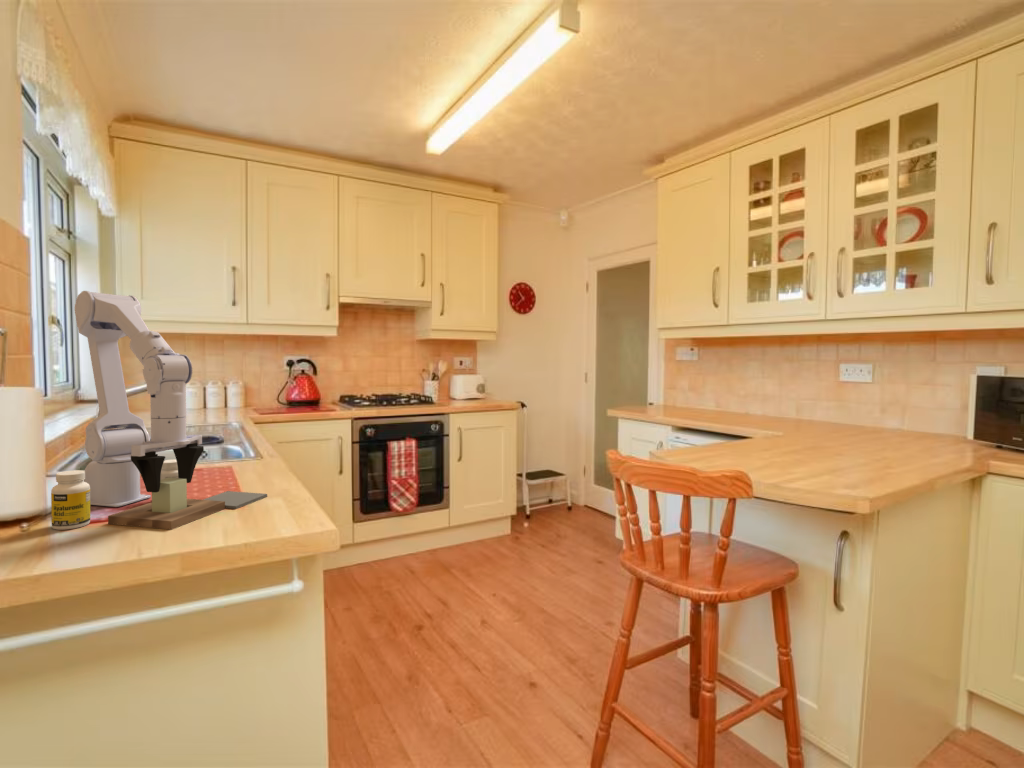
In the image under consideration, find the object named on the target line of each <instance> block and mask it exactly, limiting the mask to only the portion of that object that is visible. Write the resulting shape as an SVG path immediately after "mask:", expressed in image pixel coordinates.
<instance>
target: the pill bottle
mask: <svg viewBox="0 0 1024 768" xmlns="http://www.w3.org/2000/svg"><path fill="white" fill-rule="evenodd" d="M166 478H178V465H177V461H176V458H175V459H165V460H164V462H163V465H162V469H161V477H160V480H162V479H166Z"/></svg>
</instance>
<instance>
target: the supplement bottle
mask: <svg viewBox="0 0 1024 768" xmlns="http://www.w3.org/2000/svg"><path fill="white" fill-rule="evenodd" d="M84 479H85V470H78V469H77V470H76V469H74V470H67V471H66V470H65V471H60V472H57V473H56V474H55V481H56V482H57V484H55V485H54V486H53V487H52V488H51V490H50V491H51V492H50V495H51V496H50V499H51V500H50V503H51V507H50V508H51V519H50V520H51V528H52V529H53V530H56V531H57V530H59V531H65V530H73V529H79V528H83V527H85V526H88V525H89V524H90V523H91V505H90V485H89V484H88V483H86V482H84Z"/></svg>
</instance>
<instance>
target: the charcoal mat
mask: <svg viewBox="0 0 1024 768" xmlns="http://www.w3.org/2000/svg"><path fill="white" fill-rule="evenodd" d="M267 497H268V494H267V493H259V492H247V491H246V492H245V491H231V490H227V491H224V492H220V493H218V494H215V495H212V496H209V497H207V498H203V499H202V500H213V501H225V509H233V510H237V509H240V508H242V507H245V506H247V505H250V504H252V503H255V502H257V501H260V500H261V499H265V498H267Z"/></svg>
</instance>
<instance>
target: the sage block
mask: <svg viewBox="0 0 1024 768" xmlns="http://www.w3.org/2000/svg"><path fill="white" fill-rule="evenodd" d="M187 484H188V483H187V479H181V478H166V479H162V480H160V489H159V492H151V502H152V512H161V513H173V512H175V511H178V510H181V509H184V508H187V499H188V496H187V495H188V491H187V489H188V488H187Z"/></svg>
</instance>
